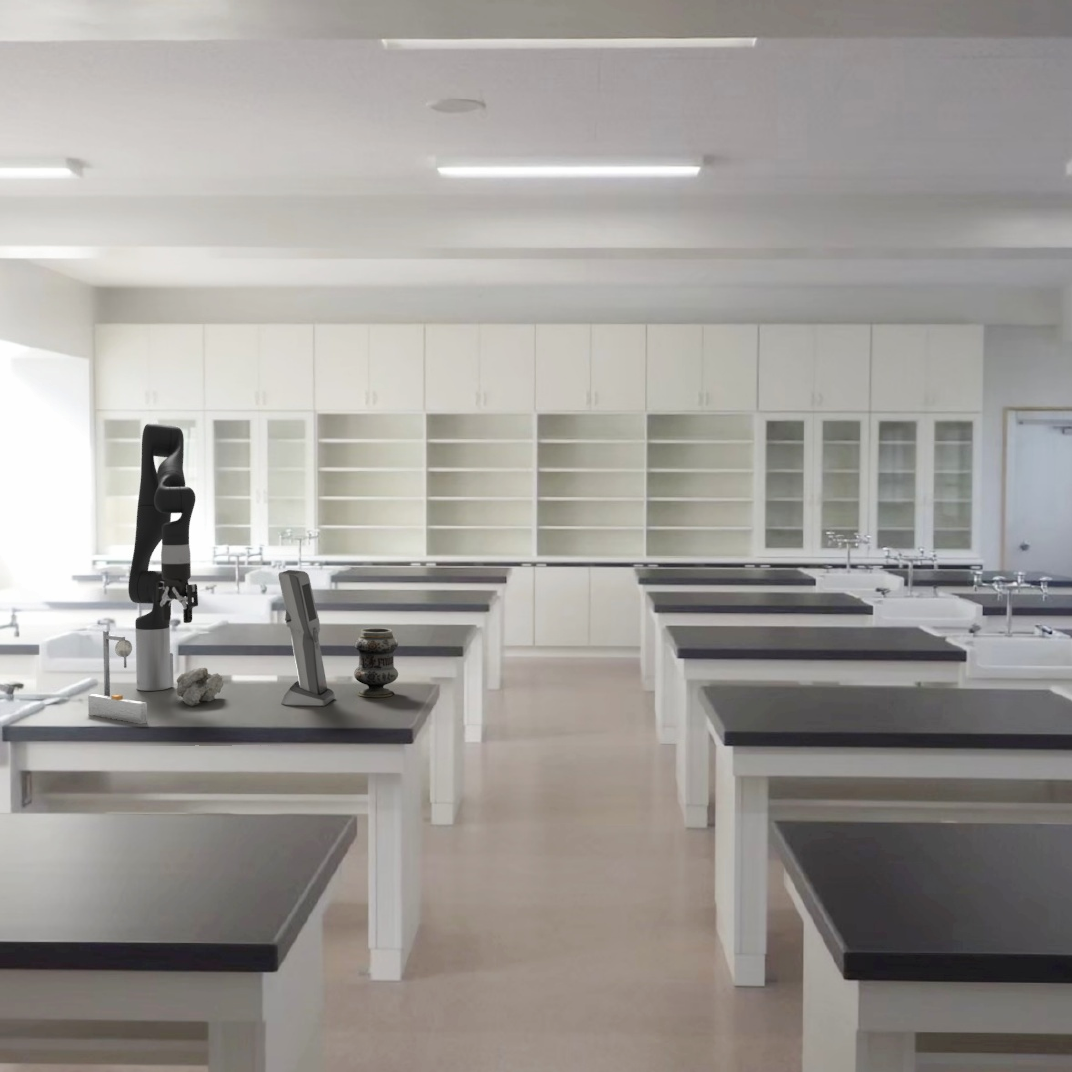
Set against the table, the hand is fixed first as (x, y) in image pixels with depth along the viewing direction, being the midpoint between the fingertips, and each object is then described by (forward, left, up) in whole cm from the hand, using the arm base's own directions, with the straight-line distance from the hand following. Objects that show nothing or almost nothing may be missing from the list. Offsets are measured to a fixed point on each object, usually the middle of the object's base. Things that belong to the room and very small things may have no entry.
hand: (176, 621), depth 340 cm
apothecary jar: (-35, +40, -21) cm, 57 cm away
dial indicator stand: (+15, -8, -21) cm, 27 cm away
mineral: (-1, +7, -21) cm, 23 cm away
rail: (+25, +7, -21) cm, 34 cm away
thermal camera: (-17, +32, -21) cm, 42 cm away
